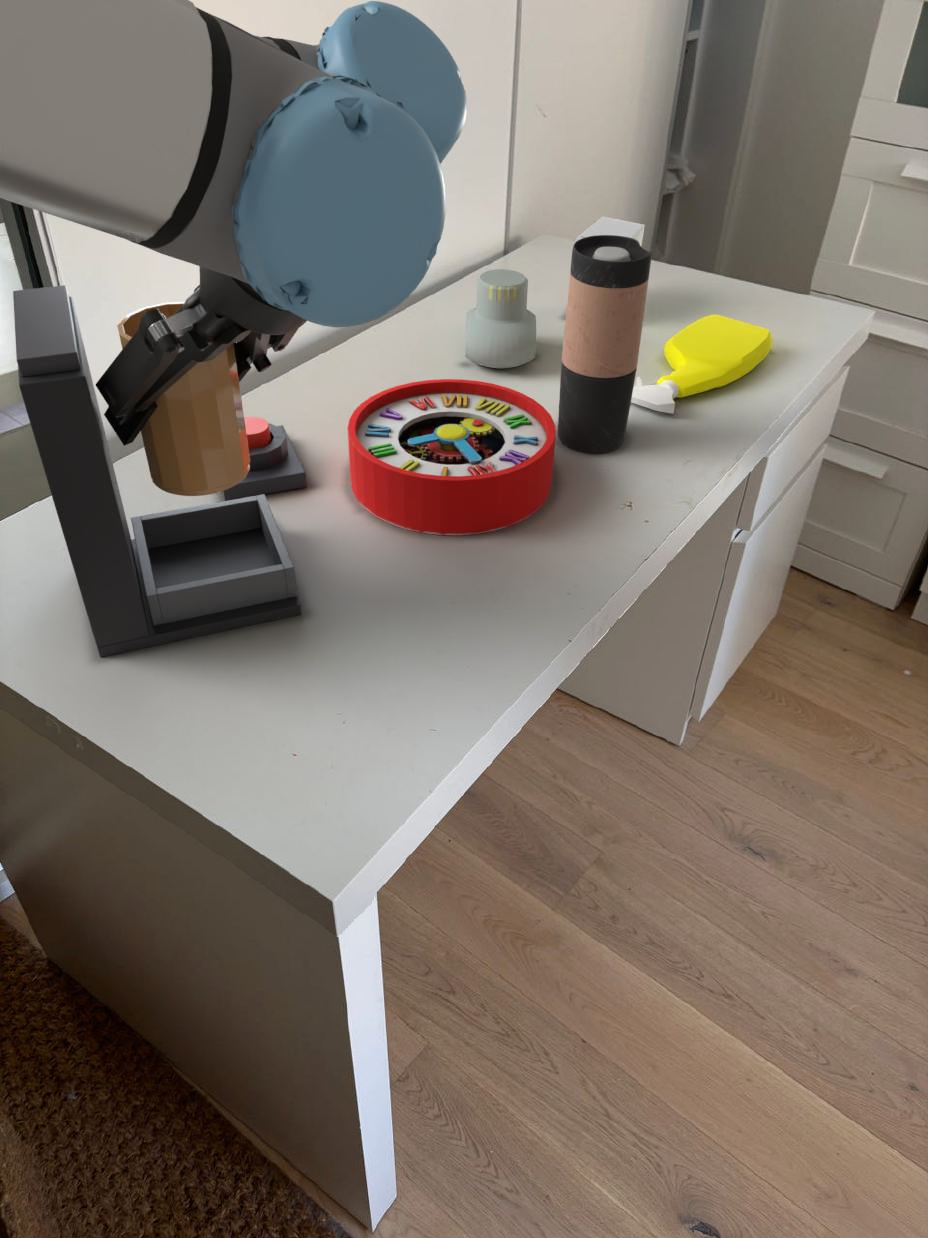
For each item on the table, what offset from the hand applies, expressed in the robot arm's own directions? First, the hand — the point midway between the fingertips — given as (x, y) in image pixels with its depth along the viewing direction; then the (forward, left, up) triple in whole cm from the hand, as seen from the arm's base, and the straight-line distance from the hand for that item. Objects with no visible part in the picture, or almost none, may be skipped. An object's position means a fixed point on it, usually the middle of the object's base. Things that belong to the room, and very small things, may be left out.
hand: (165, 408), depth 75 cm
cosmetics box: (+60, +40, -15) cm, 74 cm away
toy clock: (+26, +7, -15) cm, 31 cm away
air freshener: (+41, +30, -15) cm, 54 cm away
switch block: (+8, +14, -15) cm, 22 cm away
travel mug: (+43, +9, -15) cm, 47 cm away
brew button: (+8, +14, -12) cm, 20 cm away
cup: (+2, -3, -4) cm, 5 cm away
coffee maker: (-1, -3, -15) cm, 15 cm away
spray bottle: (+62, +19, -15) cm, 66 cm away
